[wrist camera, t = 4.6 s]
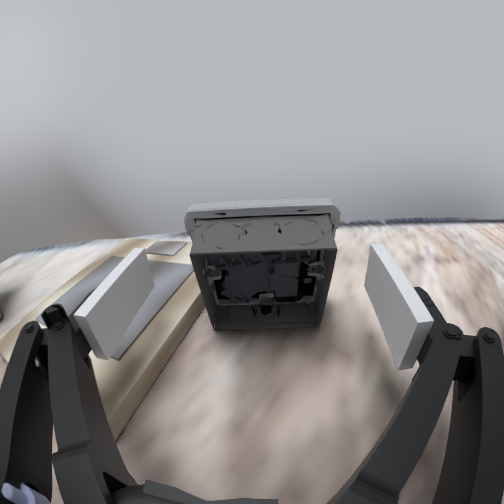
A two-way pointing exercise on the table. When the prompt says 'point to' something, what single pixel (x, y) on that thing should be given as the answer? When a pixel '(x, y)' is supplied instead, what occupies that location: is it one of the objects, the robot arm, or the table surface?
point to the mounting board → (132, 323)
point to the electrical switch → (264, 260)
